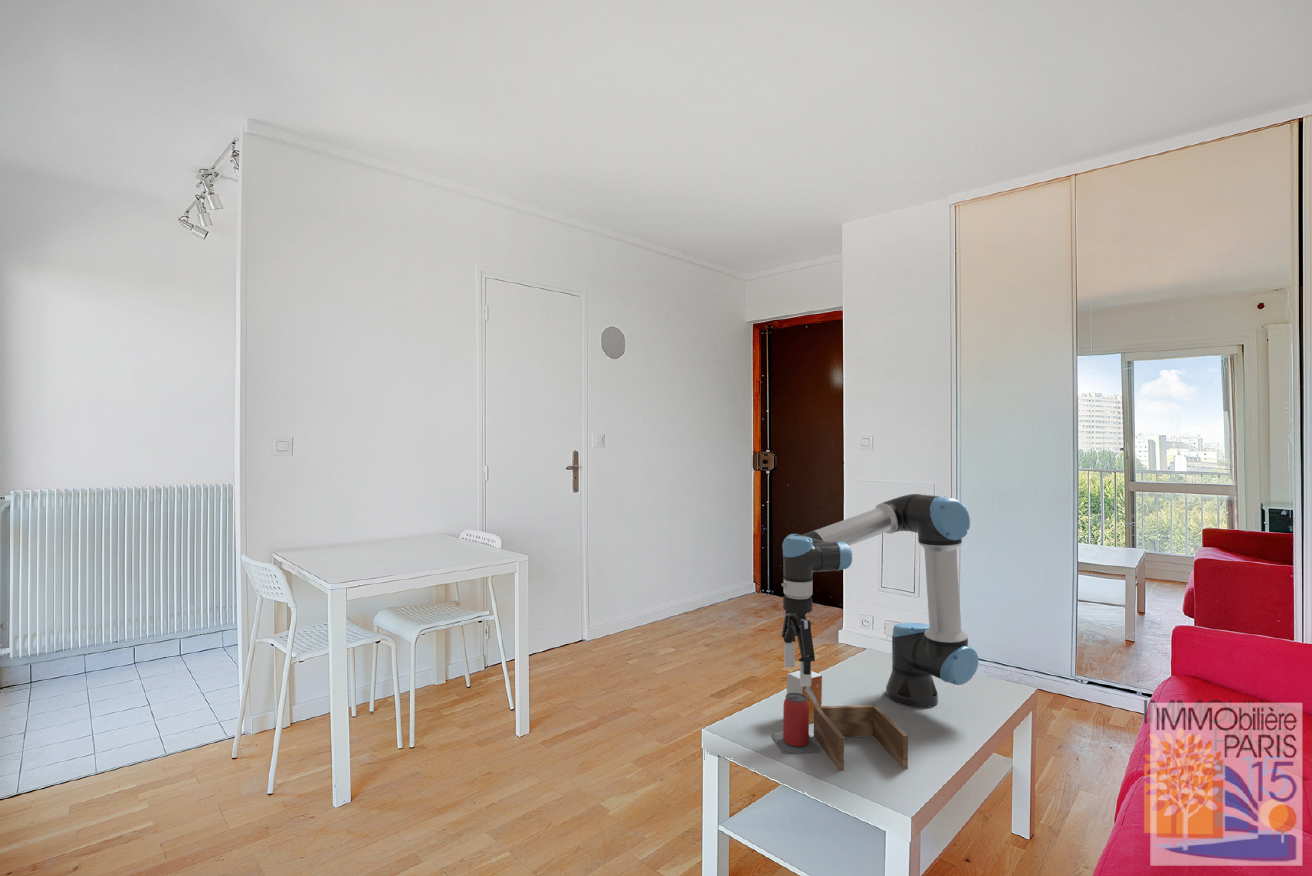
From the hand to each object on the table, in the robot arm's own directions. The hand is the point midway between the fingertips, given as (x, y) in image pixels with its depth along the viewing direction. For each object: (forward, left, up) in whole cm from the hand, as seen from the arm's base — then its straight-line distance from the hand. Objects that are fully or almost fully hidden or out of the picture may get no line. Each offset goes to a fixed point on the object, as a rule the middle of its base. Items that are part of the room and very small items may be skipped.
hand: (797, 676), depth 167 cm
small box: (-7, -14, -18) cm, 24 cm away
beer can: (0, 0, -18) cm, 18 cm away
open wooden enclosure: (-15, +6, -18) cm, 24 cm away
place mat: (0, 0, -18) cm, 18 cm away
